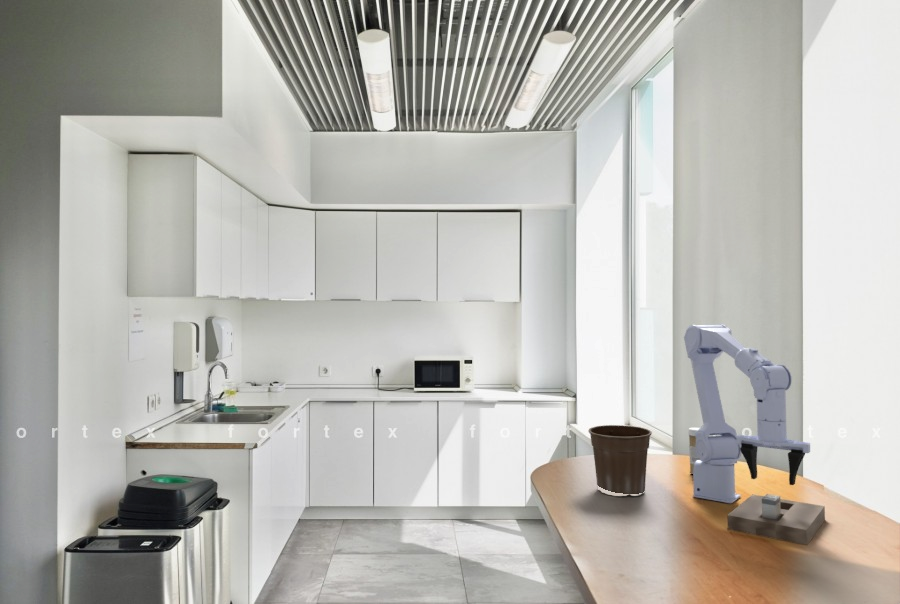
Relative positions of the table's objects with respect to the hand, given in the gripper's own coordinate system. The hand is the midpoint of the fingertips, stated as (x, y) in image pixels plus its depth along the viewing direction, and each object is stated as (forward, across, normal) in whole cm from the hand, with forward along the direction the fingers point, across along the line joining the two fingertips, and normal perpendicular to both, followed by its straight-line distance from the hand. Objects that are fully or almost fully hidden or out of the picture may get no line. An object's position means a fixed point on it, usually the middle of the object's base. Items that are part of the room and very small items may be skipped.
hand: (772, 481), depth 135 cm
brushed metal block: (+9, +1, -5) cm, 11 cm away
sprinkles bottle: (+10, -28, +32) cm, 44 cm away
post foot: (+9, +1, 0) cm, 9 cm away
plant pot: (+10, -37, +2) cm, 39 cm away
